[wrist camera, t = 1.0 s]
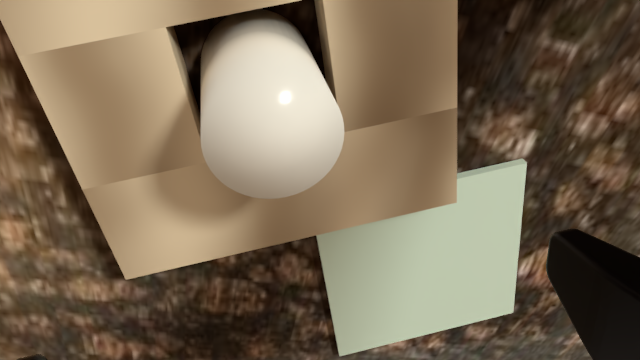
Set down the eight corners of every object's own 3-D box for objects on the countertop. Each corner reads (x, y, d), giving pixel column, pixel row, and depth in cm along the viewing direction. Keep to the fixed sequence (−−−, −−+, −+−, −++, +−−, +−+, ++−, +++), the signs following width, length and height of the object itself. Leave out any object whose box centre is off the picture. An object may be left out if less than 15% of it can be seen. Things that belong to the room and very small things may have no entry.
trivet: (522, 158, 24) (526, 163, 24) (509, 307, 30) (513, 312, 30) (310, 206, 24) (312, 212, 23) (337, 350, 29) (339, 356, 29)
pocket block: (432, -196, 16) (458, -201, 15) (439, 177, 24) (456, 202, 22) (-34, -116, 15) (-62, -110, 14) (131, 248, 23) (125, 279, 21)
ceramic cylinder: (299, -2, 19) (334, 56, 14) (315, 101, 21) (351, 181, 16) (187, 21, 18) (182, 88, 14) (216, 122, 21) (220, 211, 16)
